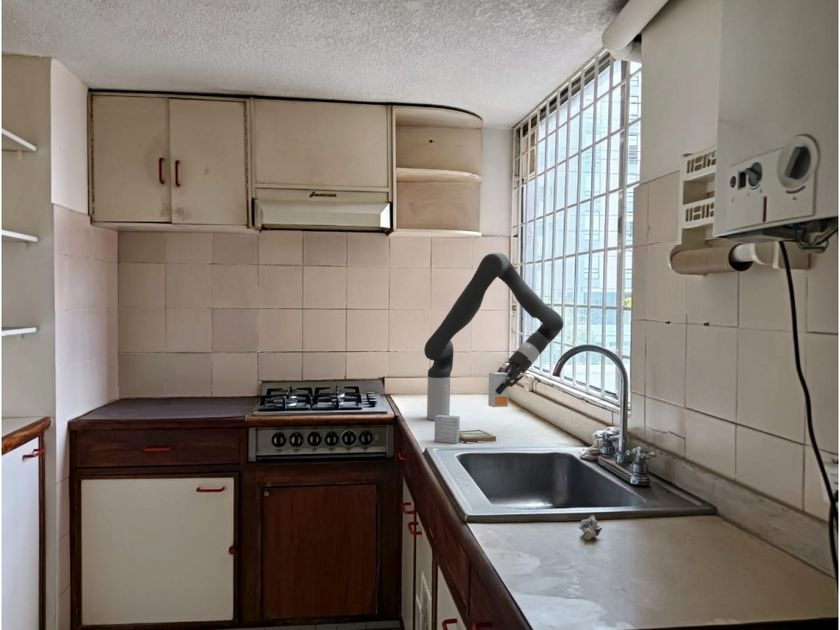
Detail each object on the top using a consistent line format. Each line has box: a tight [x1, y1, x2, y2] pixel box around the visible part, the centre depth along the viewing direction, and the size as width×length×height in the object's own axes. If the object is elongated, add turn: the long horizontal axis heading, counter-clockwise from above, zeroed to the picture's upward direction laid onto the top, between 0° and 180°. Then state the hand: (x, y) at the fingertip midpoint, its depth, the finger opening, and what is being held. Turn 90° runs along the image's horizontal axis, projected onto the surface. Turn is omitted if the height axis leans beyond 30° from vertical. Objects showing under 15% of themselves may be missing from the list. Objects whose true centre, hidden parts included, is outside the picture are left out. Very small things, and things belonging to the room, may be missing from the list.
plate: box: [459, 429, 497, 444], centre depth 215 cm, size 12×12×2 cm
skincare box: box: [487, 371, 509, 408], centre depth 219 cm, size 6×4×12 cm
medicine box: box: [433, 414, 461, 444], centre depth 210 cm, size 8×4×9 cm, turn 74°
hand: (494, 391), depth 218 cm, fingers closed on skincare box, 4 cm apart
